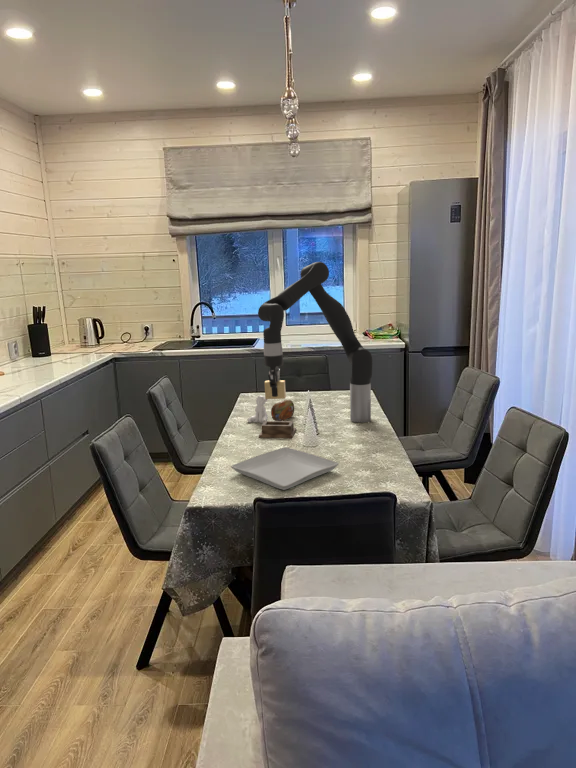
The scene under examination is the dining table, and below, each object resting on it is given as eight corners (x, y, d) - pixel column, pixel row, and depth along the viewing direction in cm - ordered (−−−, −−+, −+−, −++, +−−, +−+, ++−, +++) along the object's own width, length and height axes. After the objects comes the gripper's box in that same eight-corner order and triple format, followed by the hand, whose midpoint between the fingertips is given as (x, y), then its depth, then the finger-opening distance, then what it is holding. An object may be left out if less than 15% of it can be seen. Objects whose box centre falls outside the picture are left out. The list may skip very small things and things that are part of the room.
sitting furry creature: (246, 422, 258) (245, 397, 255) (255, 417, 265) (254, 393, 263) (265, 424, 254) (263, 398, 251) (273, 419, 262) (272, 394, 259)
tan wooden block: (285, 396, 230) (285, 380, 228) (284, 398, 227) (283, 381, 226) (266, 397, 231) (265, 380, 230) (265, 398, 228) (264, 382, 227)
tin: (275, 423, 255) (274, 405, 253) (270, 422, 257) (269, 404, 255) (295, 415, 267) (294, 398, 265) (289, 414, 269) (289, 397, 267)
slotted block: (296, 429, 244) (296, 419, 243) (291, 438, 232) (291, 427, 231) (264, 429, 246) (264, 419, 245) (259, 437, 235) (258, 427, 234)
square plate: (229, 475, 194) (229, 464, 194) (286, 455, 213) (285, 445, 212) (284, 496, 175) (283, 484, 175) (340, 472, 194) (340, 461, 193)
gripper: (279, 356, 218) (282, 399, 222) (285, 350, 232) (287, 391, 235) (260, 356, 219) (263, 399, 223) (267, 351, 233) (269, 391, 236)
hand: (275, 395), depth 229 cm, fingers closed on tan wooden block, 3 cm apart
